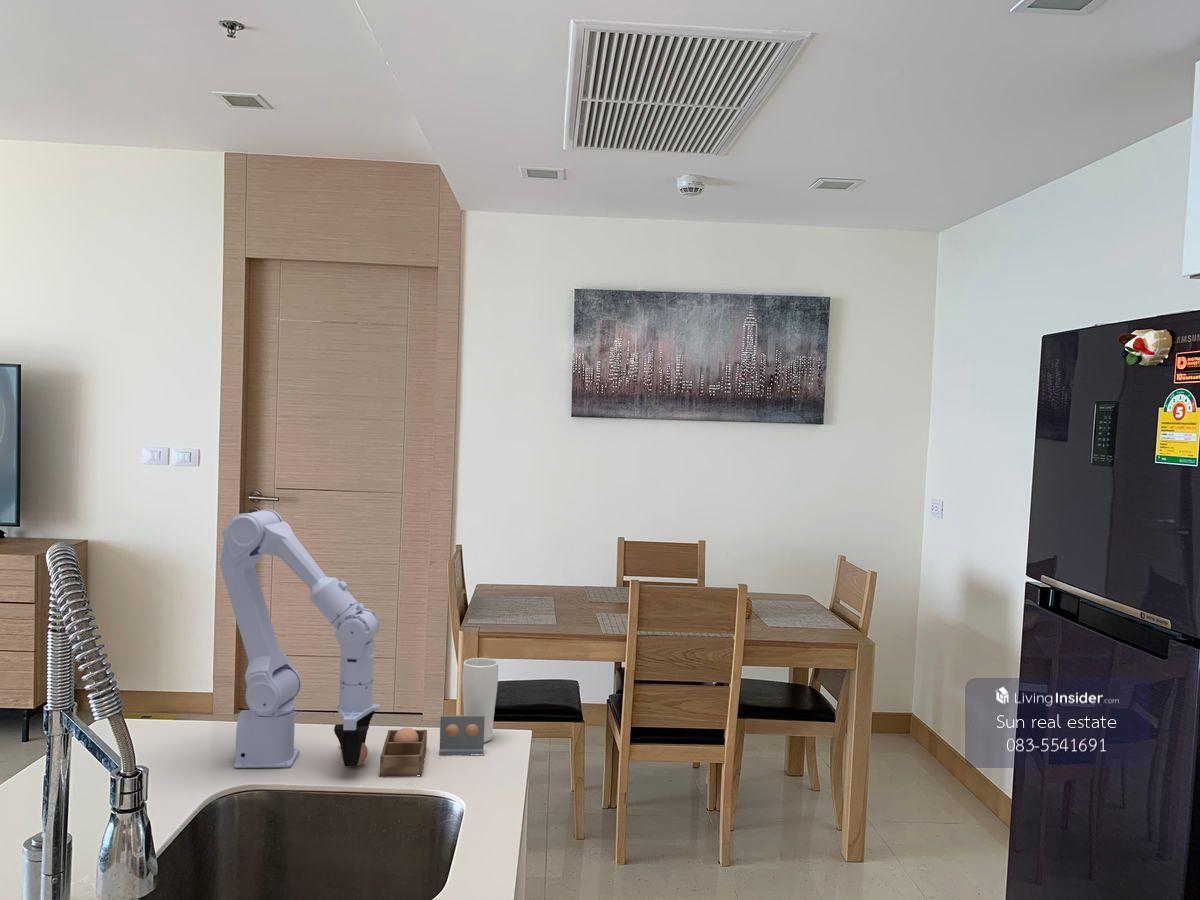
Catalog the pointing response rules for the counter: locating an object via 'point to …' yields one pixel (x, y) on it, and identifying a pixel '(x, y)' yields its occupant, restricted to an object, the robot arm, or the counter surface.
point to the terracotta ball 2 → (406, 735)
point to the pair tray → (403, 755)
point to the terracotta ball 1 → (362, 754)
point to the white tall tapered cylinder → (480, 690)
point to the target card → (462, 735)
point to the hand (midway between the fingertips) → (354, 757)
